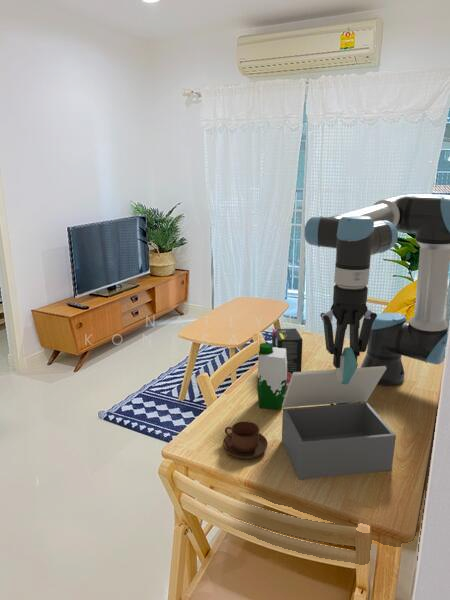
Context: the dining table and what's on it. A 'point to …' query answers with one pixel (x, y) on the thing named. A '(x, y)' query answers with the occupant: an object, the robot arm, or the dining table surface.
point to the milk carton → (271, 376)
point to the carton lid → (333, 384)
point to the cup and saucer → (244, 440)
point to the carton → (337, 440)
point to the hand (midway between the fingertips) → (343, 378)
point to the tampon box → (289, 347)
